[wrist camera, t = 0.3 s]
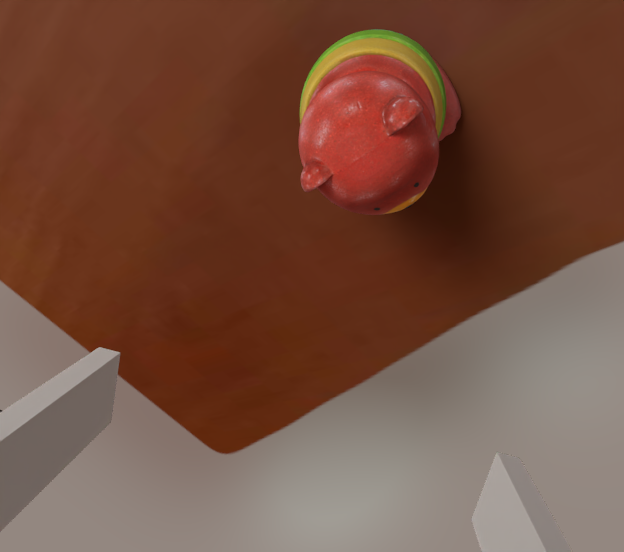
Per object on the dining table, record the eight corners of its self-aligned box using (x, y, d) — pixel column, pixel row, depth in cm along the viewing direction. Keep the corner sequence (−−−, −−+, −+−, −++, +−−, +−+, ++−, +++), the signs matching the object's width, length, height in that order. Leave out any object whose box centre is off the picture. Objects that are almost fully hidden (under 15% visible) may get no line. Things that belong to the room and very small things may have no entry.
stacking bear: (348, 187, 39) (319, 294, 24) (286, 78, 35) (204, 122, 20) (469, 123, 35) (528, 204, 19) (413, -7, 31) (432, -34, 16)
